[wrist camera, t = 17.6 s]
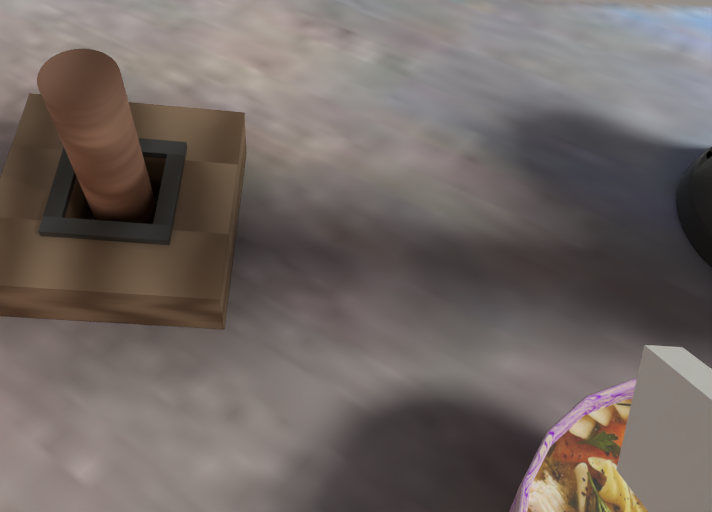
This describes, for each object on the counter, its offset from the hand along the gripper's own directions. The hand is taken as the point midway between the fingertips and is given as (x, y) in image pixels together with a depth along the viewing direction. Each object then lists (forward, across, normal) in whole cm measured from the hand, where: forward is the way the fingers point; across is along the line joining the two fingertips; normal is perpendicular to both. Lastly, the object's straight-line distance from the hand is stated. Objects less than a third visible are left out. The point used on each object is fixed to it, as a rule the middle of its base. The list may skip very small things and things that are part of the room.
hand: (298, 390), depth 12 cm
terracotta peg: (+39, -13, -7) cm, 42 cm away
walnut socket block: (+39, -13, -7) cm, 42 cm away
